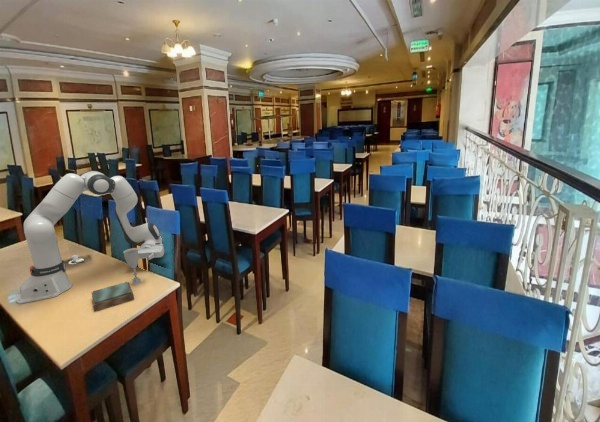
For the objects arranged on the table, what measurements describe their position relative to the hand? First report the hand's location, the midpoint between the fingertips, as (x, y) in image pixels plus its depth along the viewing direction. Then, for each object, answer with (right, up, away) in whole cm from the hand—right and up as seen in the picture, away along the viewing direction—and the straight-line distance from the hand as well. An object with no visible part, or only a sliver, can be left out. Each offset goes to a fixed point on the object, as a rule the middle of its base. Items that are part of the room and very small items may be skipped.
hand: (139, 259), depth 172 cm
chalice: (+1, -12, -5) cm, 13 cm away
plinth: (-2, -16, -20) cm, 26 cm away
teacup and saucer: (-51, -7, +22) cm, 56 cm away
